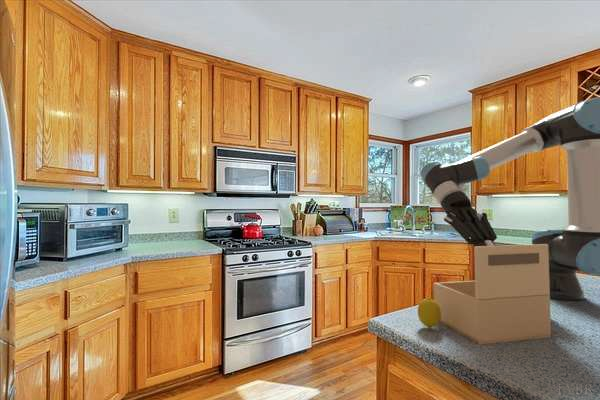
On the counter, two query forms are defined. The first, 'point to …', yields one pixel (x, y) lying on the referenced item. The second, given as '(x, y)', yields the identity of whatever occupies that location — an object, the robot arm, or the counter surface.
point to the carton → (492, 314)
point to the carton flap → (511, 271)
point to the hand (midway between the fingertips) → (500, 264)
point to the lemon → (429, 312)
